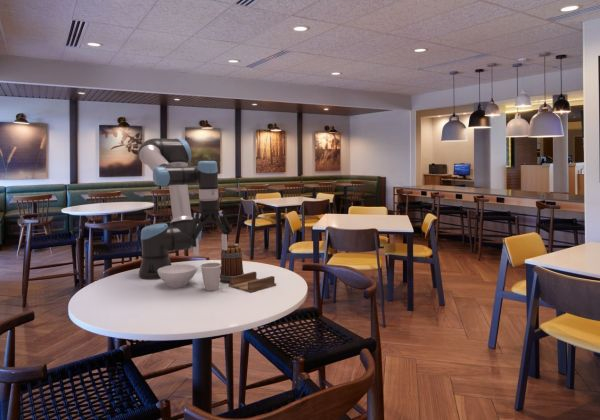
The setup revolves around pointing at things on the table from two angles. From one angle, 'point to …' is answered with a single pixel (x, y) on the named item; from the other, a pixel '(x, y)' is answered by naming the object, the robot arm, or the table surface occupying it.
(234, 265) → the mug
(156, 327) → the table surface
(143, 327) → the table surface
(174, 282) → the bowl
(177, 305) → the table surface
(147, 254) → the robot arm
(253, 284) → the rail stand
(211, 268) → the dixie cup
